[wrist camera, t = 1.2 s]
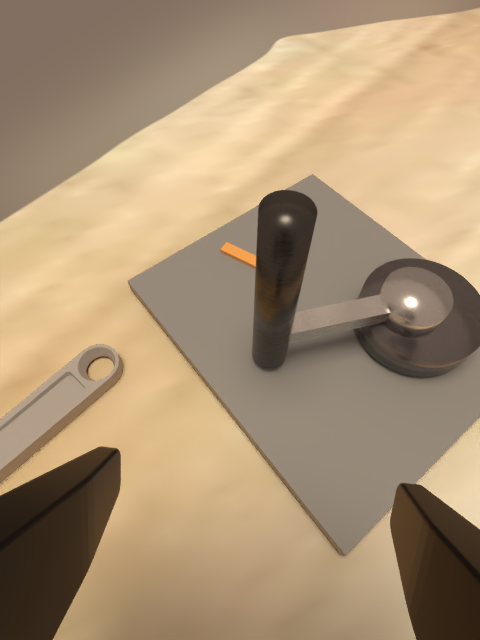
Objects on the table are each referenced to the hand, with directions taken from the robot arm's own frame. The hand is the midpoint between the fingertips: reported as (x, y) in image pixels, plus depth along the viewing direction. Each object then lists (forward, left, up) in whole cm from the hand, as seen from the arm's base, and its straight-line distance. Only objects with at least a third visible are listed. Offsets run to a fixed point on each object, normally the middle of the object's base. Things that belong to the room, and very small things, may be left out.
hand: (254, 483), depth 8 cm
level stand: (+6, -11, -14) cm, 19 cm away
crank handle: (+3, -12, -12) cm, 17 cm away
